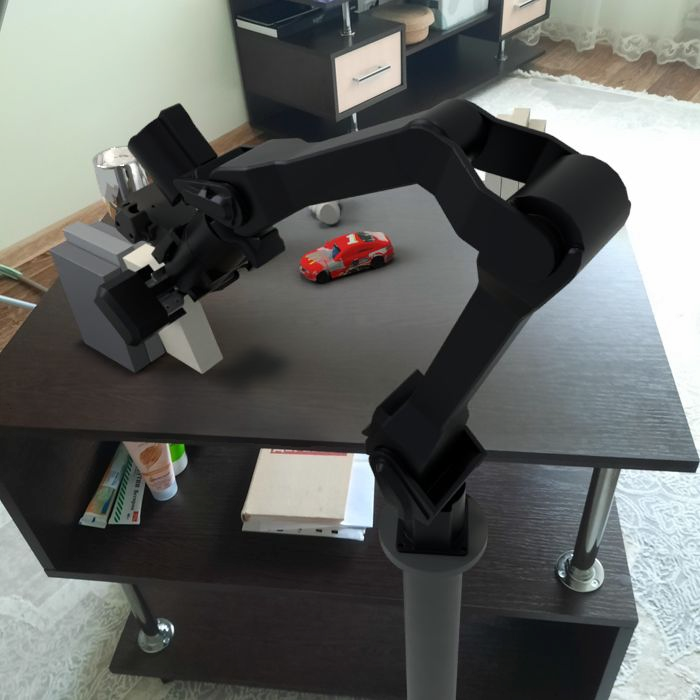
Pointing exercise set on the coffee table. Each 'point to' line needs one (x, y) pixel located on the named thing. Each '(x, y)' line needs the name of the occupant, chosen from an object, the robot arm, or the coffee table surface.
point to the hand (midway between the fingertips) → (165, 302)
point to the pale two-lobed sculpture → (327, 212)
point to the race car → (346, 255)
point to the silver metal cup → (118, 176)
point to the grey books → (86, 276)
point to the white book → (182, 323)
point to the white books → (501, 184)
